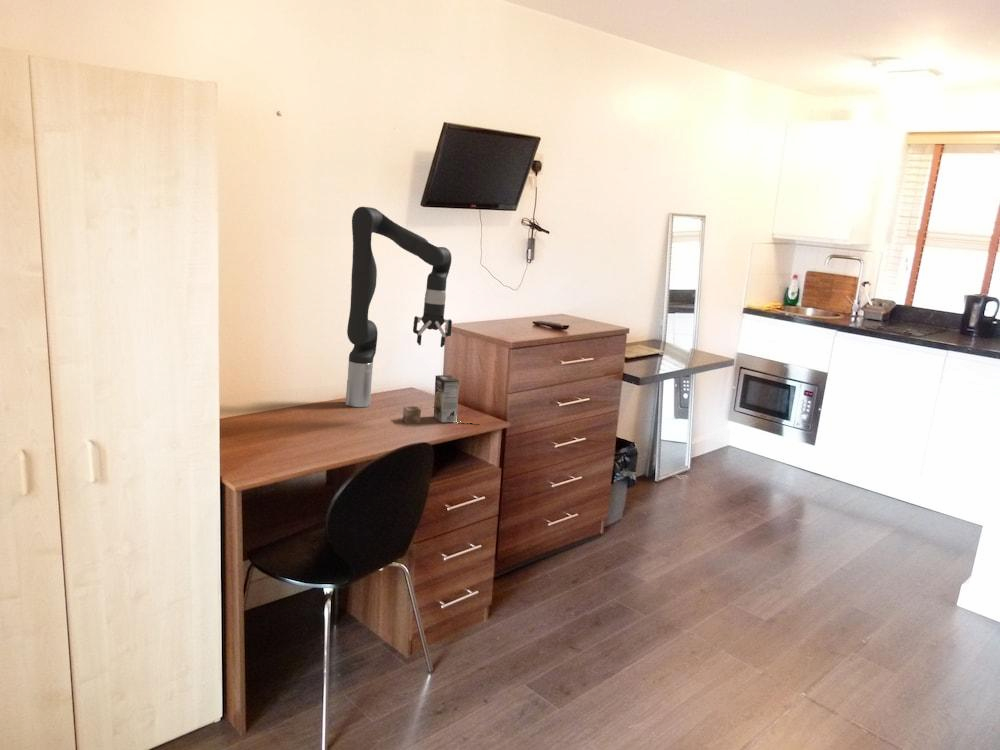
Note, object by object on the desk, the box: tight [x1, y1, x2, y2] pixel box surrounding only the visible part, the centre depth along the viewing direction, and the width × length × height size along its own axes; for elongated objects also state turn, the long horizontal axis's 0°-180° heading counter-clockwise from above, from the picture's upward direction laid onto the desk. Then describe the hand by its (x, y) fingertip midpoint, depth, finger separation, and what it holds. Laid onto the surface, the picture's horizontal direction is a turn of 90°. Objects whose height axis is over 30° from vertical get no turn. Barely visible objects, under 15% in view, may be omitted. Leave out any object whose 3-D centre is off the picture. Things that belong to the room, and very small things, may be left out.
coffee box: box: [433, 374, 460, 423], centre depth 267 cm, size 9×6×16 cm
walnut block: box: [402, 406, 422, 424], centre depth 261 cm, size 5×5×5 cm
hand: (430, 345), depth 262 cm, fingers open, 7 cm apart
